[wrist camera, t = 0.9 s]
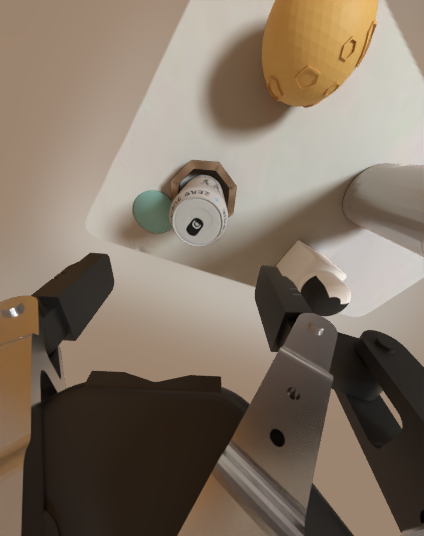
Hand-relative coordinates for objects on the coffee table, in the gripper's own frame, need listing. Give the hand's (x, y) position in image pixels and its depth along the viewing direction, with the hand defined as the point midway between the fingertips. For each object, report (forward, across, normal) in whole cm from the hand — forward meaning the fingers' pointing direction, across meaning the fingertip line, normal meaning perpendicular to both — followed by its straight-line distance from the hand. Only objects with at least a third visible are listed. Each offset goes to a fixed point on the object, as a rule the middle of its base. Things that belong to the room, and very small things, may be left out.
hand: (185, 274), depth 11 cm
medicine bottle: (+24, -19, +11) cm, 33 cm away
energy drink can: (+24, 0, 0) cm, 24 cm away
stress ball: (+24, -10, -16) cm, 31 cm away
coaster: (+24, +8, +4) cm, 26 cm away
